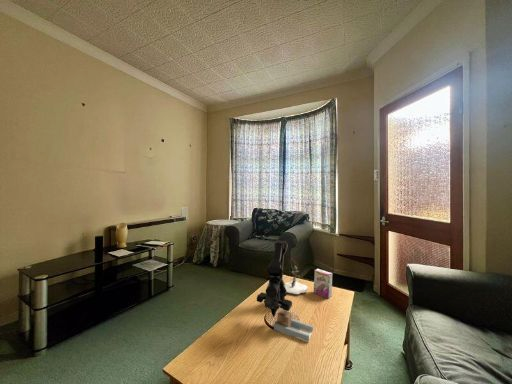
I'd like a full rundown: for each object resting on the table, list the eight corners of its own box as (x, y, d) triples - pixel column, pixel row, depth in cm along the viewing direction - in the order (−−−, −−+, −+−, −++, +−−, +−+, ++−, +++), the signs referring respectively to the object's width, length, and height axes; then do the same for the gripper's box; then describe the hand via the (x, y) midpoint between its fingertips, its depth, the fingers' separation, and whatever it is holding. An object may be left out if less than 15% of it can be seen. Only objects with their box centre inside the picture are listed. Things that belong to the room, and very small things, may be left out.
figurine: (301, 298, 142) (303, 273, 142) (277, 290, 152) (278, 267, 152) (311, 288, 158) (312, 266, 159) (289, 282, 168) (290, 261, 169)
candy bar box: (313, 293, 150) (314, 270, 149) (316, 290, 153) (317, 268, 153) (328, 299, 142) (329, 275, 142) (331, 296, 146) (332, 272, 145)
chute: (274, 329, 111) (274, 324, 111) (280, 320, 119) (280, 315, 119) (308, 342, 103) (308, 336, 103) (312, 331, 111) (312, 326, 110)
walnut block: (277, 327, 113) (277, 314, 112) (280, 321, 117) (281, 309, 117) (288, 331, 110) (288, 317, 109) (291, 325, 114) (291, 312, 114)
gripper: (251, 290, 113) (251, 319, 113) (285, 299, 104) (284, 331, 105) (261, 281, 123) (260, 308, 123) (292, 290, 114) (292, 318, 114)
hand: (273, 316), depth 116 cm, fingers closed
